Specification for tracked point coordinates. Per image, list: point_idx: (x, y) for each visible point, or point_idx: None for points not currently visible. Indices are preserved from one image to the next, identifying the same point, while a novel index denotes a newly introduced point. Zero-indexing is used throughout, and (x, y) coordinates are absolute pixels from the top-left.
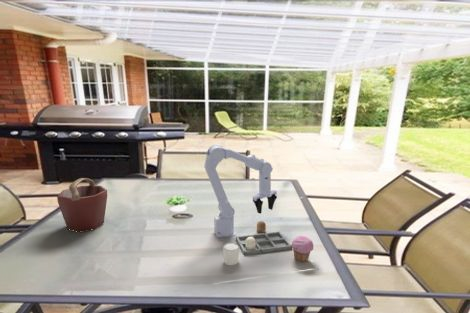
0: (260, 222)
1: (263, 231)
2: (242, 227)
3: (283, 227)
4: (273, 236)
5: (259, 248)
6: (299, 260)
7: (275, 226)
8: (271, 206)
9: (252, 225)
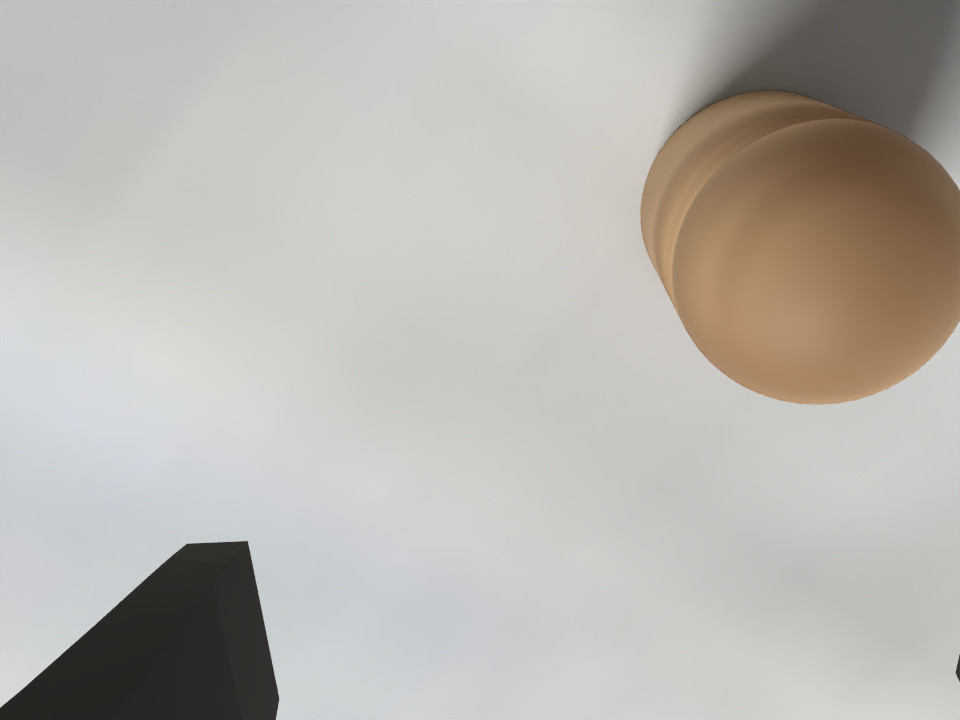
0: (933, 276)
1: (807, 102)
2: (884, 618)
3: (67, 87)
4: None
5: None
6: None
7: (223, 256)
8: (182, 680)
9: (644, 580)
